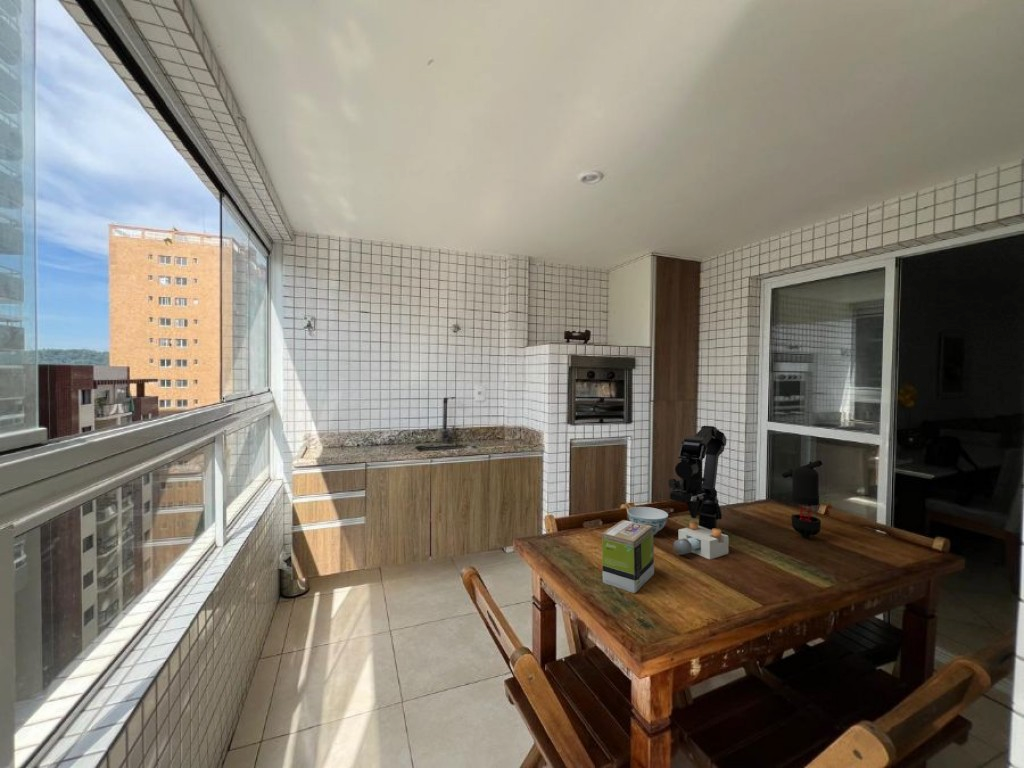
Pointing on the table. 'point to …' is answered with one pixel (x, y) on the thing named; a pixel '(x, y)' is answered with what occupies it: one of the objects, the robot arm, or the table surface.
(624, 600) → the table surface
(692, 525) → the plunger
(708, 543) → the housing
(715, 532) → the plunger
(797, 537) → the table surface
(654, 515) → the chinaware
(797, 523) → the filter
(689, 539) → the cartridge
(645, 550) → the tea box
